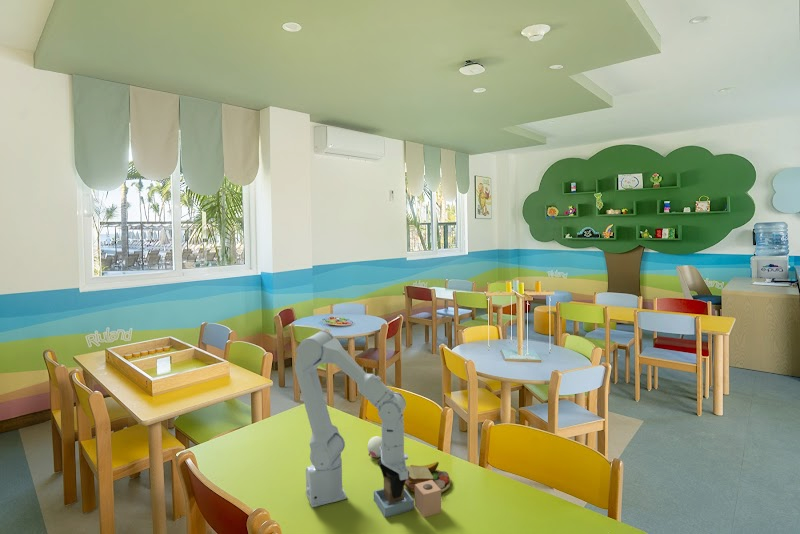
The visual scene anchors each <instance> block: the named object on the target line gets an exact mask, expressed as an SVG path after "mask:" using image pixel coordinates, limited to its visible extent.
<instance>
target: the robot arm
mask: <svg viewBox="0 0 800 534" xmlns="http://www.w3.org/2000/svg"><path fill="white" fill-rule="evenodd" d="M295 352H296V358H295V363H294V372H295V375H296V379H297V383H298V386H299V391H300V393H301V397H302V400H303V405H304V408H305V411H306V414H307V419H308V421H309V425H310V429H311V437H310V441H309V448H310V455H309V460H310V463H311V465H309V466H306V468H305V484H306V485H305V487H306V488H305V494H306V496H307V498H308V501H309V504H310V506H311V508H316V507H320V506H323V505H327V504H330V503H331V504H332V503H335V502H336V503H337V502H339V501H343V500H347V499H348V495H347V493H346V492H345V490H344V487H343V467H342V465H343V464H342V462H343V461H342V453H343V451H344V450H345V447H346V442H345V438H344V437H343V436H342V435H341V434H340V432H339V429H338V427H337V426H336V425H334V424H333V423H332V420H331V417H330V413H329V409H328V406H327V402H326V399H325V396H324V392H323V387H322V385H321V381H320V377H319V374H318V370H317V368H318V367H319V365H320V364H332V365H333V364H334V365H335V366H336V367H337V368H339V369H340V370H341V371H342V372H343V373H345V375H347V376H348V377H349V378H351V379H352V380H353V381H354V382H355V383H356V384H357V391H358V392H359V393H360V394H361V395H362V396H363V397H364V398H365V399H366V400H367V401H368V402H370V404H372V406H374V407H375V409H377V415H378V417H379V418H380V420H381V437H382V446H380V447H379V453H380V455H381V457H380V460H378V461H377V464H378V467H379V468H380V470H381V474H382V478H383V479H384V477H386V476H388V479H389V481H390V485H391V492H392V496H393V498H394V499H395V498H398V497H401V494H402V490H403V486H404V487H405V485H404V483H405V481H406V479H408V476H409V471H408V470H407V469H406V466H407V463H406V460H408V459H409V455H408V454H407V453H405V424H404V414H403V413H404V411H405V409H406V406H407V401H406V399H405V398H404V396H403V394H402V393H401V392H397V391H394V390H393V389H390V387H388V386H387V385H386V384H385V383H384V382H383V381H381V380H382V378H381V376H379V375H375V374H374V373H368V372H366V371H365V370H364V369H363V368H362V367H361V366H360V365H359V363H357V362H356V360H355V359H354V358H353V356H351V355H350V354H349V352H348V351H346V350H345V348H344V347H343V345H341V343H340V341H339V339H337V338H336V337H334V336H333V335H332V333H331V332H329V331H327V330H320V331H318V332H316V333H314V334H313V335H310V336H309V337H307V338H304V339H303V340H302V341H300V343H299V345H298V346H297V347H296V348H295Z"/></svg>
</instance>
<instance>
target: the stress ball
mask: <svg viewBox="0 0 800 534" xmlns="http://www.w3.org/2000/svg"><path fill="white" fill-rule="evenodd" d="M380 446H382V436H378V435H376V436H372V437H371V438H370V439H369V440H368V443H367V451H368V456H372V457H373V458H381V455H380V453H379V447H380Z"/></svg>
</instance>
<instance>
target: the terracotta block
mask: <svg viewBox="0 0 800 534" xmlns="http://www.w3.org/2000/svg"><path fill="white" fill-rule="evenodd" d="M414 508H416V510H417V511H418V513H419V514H420V515H421V516H422V517H423V518H426V517H431V516H433V515H436V514H439V513H442V493H441V489H440V488H439V487H438V486H437V485H436V484H435V483H434V481H433V480H429V481H425V482H421V483H418V484H415V492H414Z"/></svg>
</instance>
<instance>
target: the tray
mask: <svg viewBox="0 0 800 534" xmlns="http://www.w3.org/2000/svg"><path fill="white" fill-rule="evenodd" d="M373 502H375V505H376V506H377V508H378V509H379V511H380V512H381V514H382V516H383V518H386V519H387V518H389V517H392V516H396V515H399V514H402V513H406V512H411V511H413V510H415V499H414V498H413V497H412V495H410V493H409V492H408V491H407V488H405V487H404V500H402V501H398V502H395V503H391V504H390V503H389V502H388V501H387V499H386V498H385V496H384V487H383V488H381V489H377V490H373Z"/></svg>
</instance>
